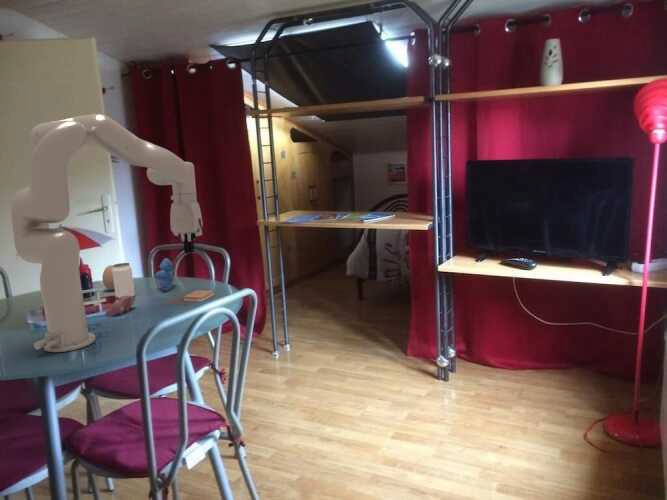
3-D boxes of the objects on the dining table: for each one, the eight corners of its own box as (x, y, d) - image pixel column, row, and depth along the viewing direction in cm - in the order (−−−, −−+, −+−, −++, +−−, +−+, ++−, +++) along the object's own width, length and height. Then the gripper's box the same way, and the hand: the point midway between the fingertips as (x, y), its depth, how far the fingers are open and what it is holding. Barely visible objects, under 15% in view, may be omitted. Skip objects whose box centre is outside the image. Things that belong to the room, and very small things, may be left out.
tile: (183, 300, 176) (202, 301, 174) (183, 296, 175) (201, 297, 173) (196, 294, 183) (214, 294, 181) (196, 290, 183) (214, 290, 181)
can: (126, 299, 183) (122, 266, 181) (111, 299, 185) (107, 266, 183) (138, 294, 189) (134, 262, 187) (124, 294, 191) (120, 262, 189)
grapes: (161, 287, 199) (158, 256, 197) (179, 286, 199) (175, 255, 197) (151, 295, 188) (147, 262, 186) (170, 294, 188) (166, 261, 186)
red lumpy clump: (115, 323, 162) (121, 304, 161) (102, 316, 163) (109, 297, 161) (133, 313, 172) (139, 295, 170) (121, 307, 172) (127, 289, 171)
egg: (101, 290, 199) (98, 266, 197) (119, 286, 203) (116, 262, 201) (107, 293, 194) (104, 268, 192) (126, 289, 198) (122, 264, 196)
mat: (189, 306, 170) (189, 305, 170) (158, 305, 174) (158, 303, 174) (215, 293, 185) (214, 292, 185) (185, 292, 189) (185, 291, 189)
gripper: (159, 200, 174) (164, 254, 177) (198, 199, 169) (202, 254, 172) (172, 198, 181) (177, 250, 184) (210, 197, 176) (214, 251, 179)
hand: (189, 252), depth 178 cm, fingers closed
